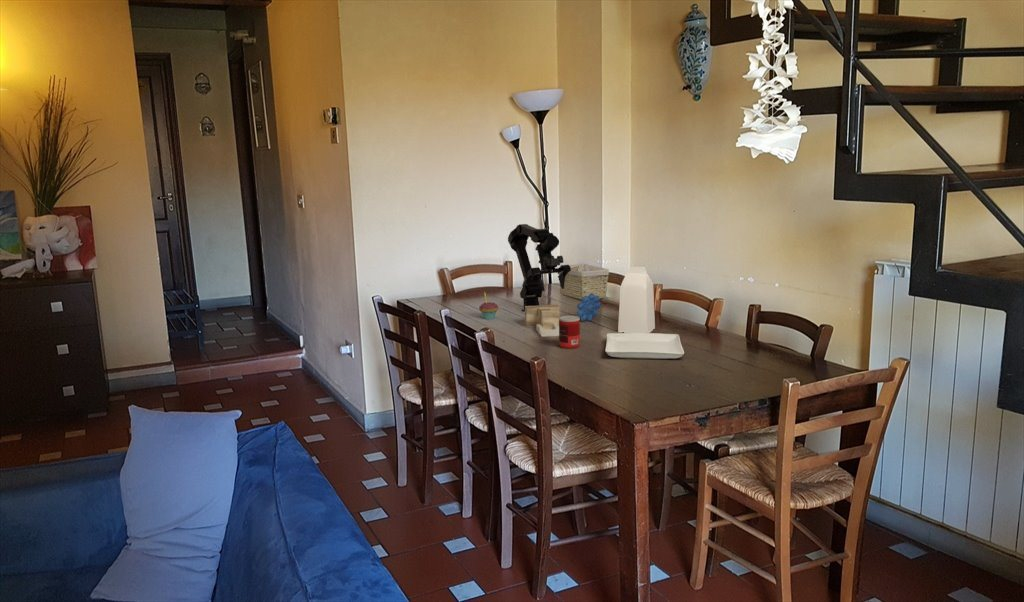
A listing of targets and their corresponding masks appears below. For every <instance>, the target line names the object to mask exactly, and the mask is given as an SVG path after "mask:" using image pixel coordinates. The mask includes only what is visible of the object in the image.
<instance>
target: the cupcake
mask: <svg viewBox="0 0 1024 602" xmlns="http://www.w3.org/2000/svg"><path fill="white" fill-rule="evenodd" d="M483 293H484V294H483V295H484V301H485V302H484V303H483V302H482V304H480V305H479V307H478V308H479V311H480V313H481V314H482V317H483V319H484V318H485V319H484V320H493V319H492V318H494V319H495V317H496V314H497V312H498V310H499V305H498V304H496V303H495V302H491V301H490V302H489V301H487V294H486V292H485V291H483Z"/></svg>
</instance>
